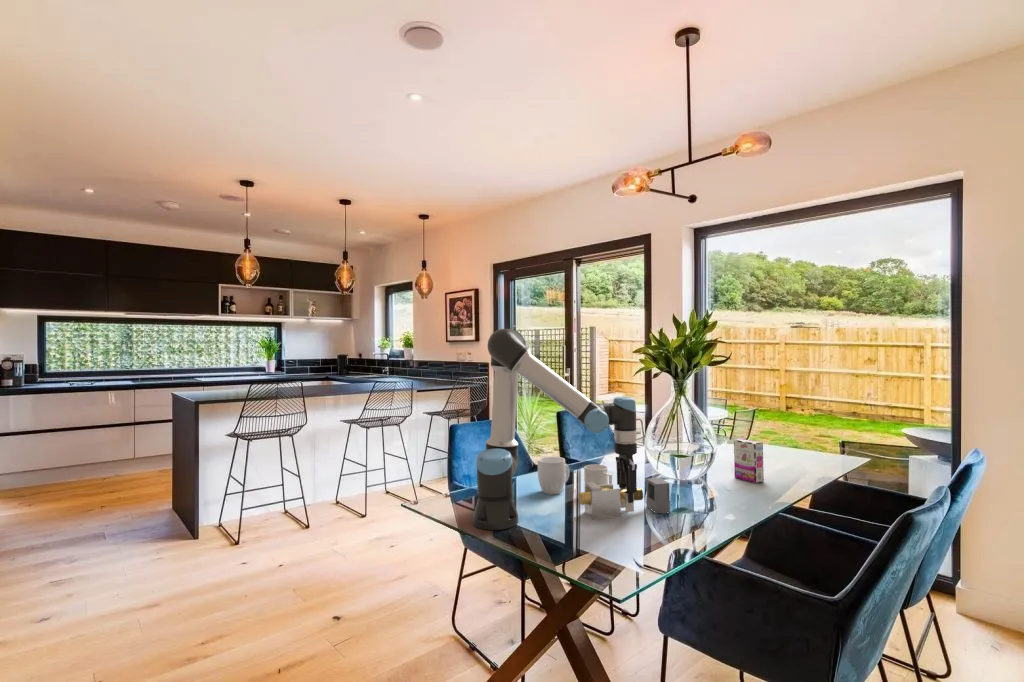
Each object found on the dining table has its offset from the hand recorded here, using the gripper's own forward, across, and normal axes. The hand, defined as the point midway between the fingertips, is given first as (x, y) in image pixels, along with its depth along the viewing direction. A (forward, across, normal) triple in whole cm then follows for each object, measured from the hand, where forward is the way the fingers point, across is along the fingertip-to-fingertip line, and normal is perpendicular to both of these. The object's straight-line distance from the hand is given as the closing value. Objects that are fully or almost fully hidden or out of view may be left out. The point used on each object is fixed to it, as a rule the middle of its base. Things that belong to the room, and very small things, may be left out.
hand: (627, 509), depth 186 cm
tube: (-3, 0, +6) cm, 6 cm away
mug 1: (+1, +31, +18) cm, 36 cm away
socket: (+1, 0, -12) cm, 12 cm away
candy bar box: (+1, +27, -65) cm, 70 cm away
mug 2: (+1, +20, +3) cm, 20 cm away
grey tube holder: (+1, 0, +9) cm, 9 cm away
